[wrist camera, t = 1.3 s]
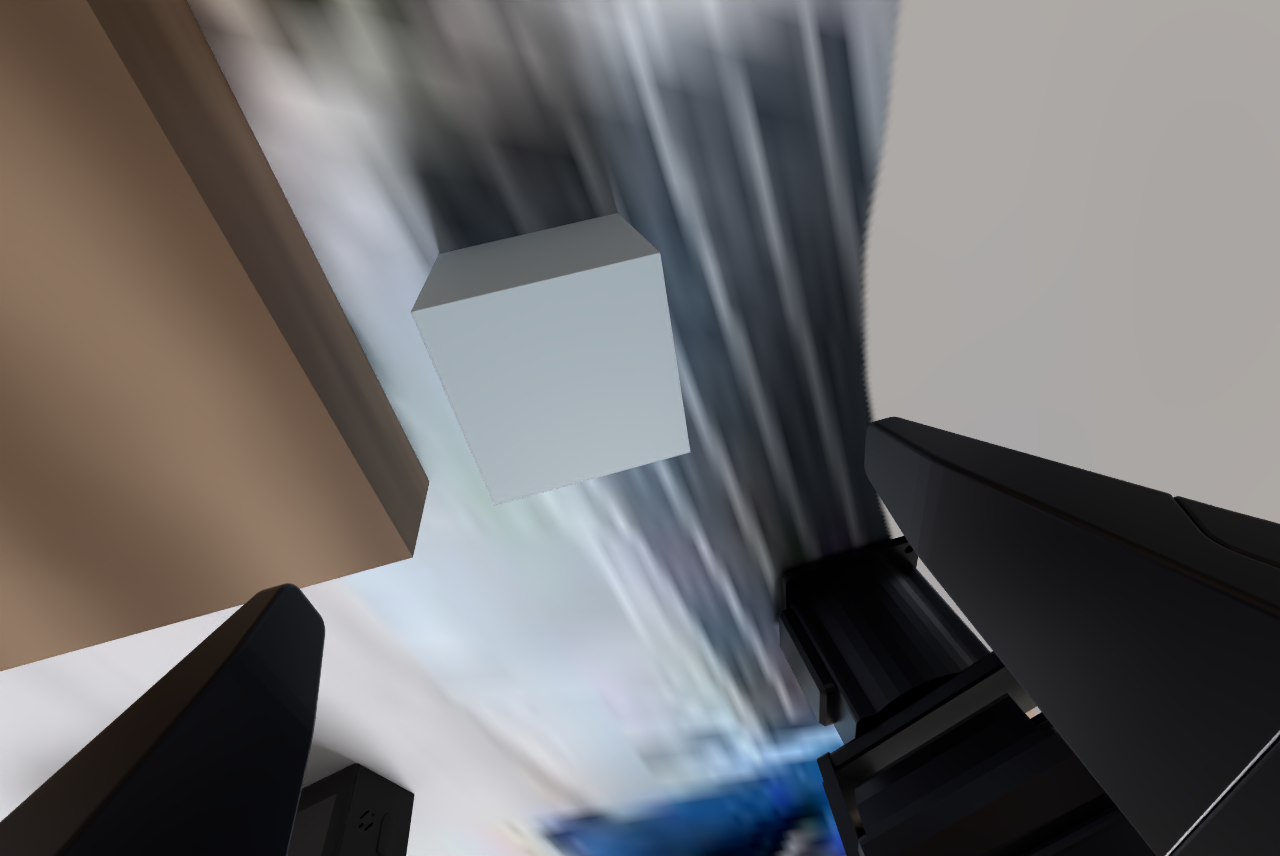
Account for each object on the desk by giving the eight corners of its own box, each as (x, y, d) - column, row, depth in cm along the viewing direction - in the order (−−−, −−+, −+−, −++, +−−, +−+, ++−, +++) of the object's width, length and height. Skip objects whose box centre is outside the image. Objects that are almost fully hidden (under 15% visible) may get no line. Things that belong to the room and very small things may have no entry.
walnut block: (192, -4, 11) (55, -53, 8) (430, 474, 18) (412, 557, 15) (-510, 125, 10) (-1021, 132, 7) (30, 580, 17) (-86, 694, 14)
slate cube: (617, 212, 15) (659, 252, 11) (646, 370, 17) (690, 452, 13) (439, 253, 14) (411, 312, 10) (498, 408, 17) (494, 505, 13)
